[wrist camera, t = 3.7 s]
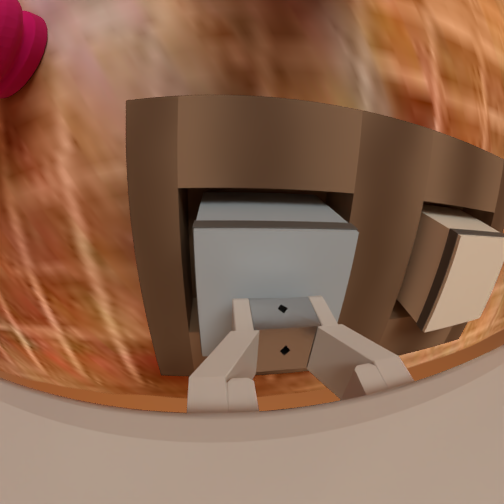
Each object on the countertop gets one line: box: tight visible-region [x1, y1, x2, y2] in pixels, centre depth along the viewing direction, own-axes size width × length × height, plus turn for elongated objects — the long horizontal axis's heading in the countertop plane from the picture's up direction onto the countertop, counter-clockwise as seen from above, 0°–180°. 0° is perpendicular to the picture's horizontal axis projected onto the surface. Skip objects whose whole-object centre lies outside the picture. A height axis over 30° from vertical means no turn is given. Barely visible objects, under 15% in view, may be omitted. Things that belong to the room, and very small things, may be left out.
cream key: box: [397, 204, 504, 333], centre depth 13 cm, size 6×6×5 cm
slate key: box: [193, 192, 359, 356], centre depth 12 cm, size 6×6×5 cm
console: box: [126, 95, 504, 376], centre depth 15 cm, size 22×14×5 cm, turn 88°
